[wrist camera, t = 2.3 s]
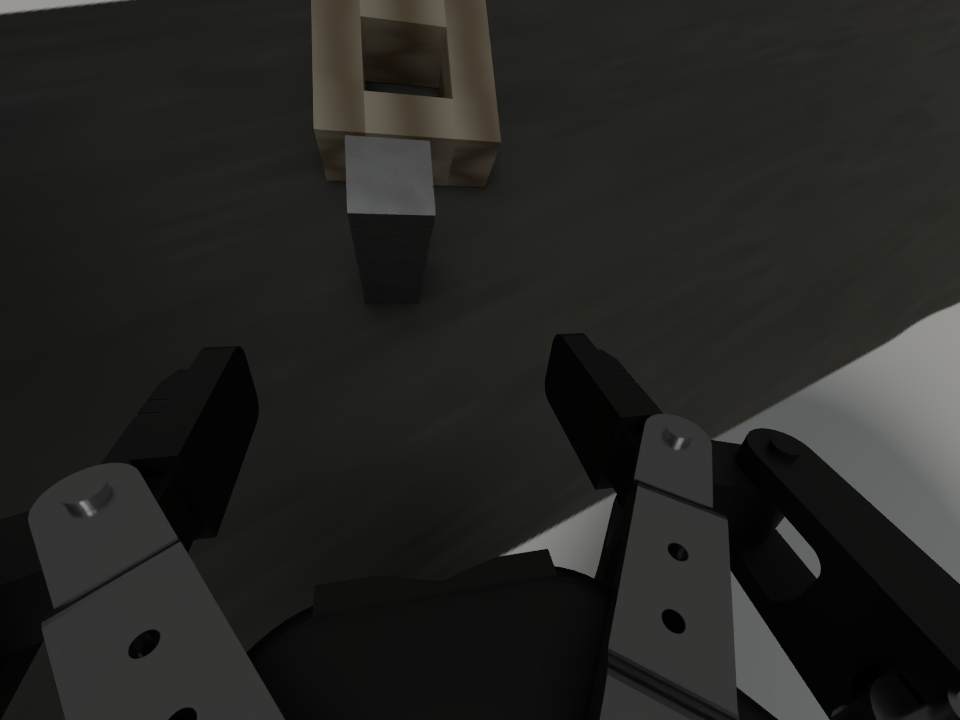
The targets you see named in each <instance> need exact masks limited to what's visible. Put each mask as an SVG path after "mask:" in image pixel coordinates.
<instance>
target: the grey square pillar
mask: <svg viewBox="0 0 960 720" xmlns="http://www.w3.org/2000/svg"><path fill="white" fill-rule="evenodd" d="M345 158H346V188H347V214H348V219H349V224H350V229H351V234H352V239H353V244H354V249H355V254H356V259H357V264H358V269H359V274H360V279H361V284H362V289H363V294H364V299H365V304H400V303H419V301H420V296H421V290H422V285H423V280H424V274H425V269H426V264H427V258H428V253H429V248H430V242H431V237H432V232H433V226H434V221H435V216H436V215H435V202H434V189H433V175H432V162H431V149H430V141H424V140H409V139H394V138H379V137H365V136H350V135H345Z"/></svg>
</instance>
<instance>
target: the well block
mask: <svg viewBox="0 0 960 720" xmlns="http://www.w3.org/2000/svg"><path fill="white" fill-rule="evenodd" d="M311 10H312V63H313V116H314V132H315V136H316V140H317V144H318V148H319V152H320V156H321V160H322V164H323V168H324V172H325V176H326V179H327V180H329V181H346V158H345V135H350V136H365V137H379V138H394V139H409V140H424V141H430V149H431V162H432V175H433V185H441V186H464V187H485V185H486V183H487V180H488V177H489V174H490V172H491V169H492V166H493V163H494V160H495V158H496V155H497V152H498V149H499V147H500V144H501V137H500V128H499V119H498V110H497V101H496V92H495V83H494V74H493V65H492V56H491V47H490V38H489V29H488V20H487V11H486V2H485V0H311ZM365 81H371V82H381V83H392V84H402V85H412V86H423V87H433V88H439V98H438V97H427V96H416V95H405V94H394V93H383V92H372V91H366V85H365Z"/></svg>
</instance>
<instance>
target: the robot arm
mask: <svg viewBox="0 0 960 720" xmlns="http://www.w3.org/2000/svg"><path fill="white" fill-rule="evenodd" d="M545 392H546V397H547V399H548V402H549V404H550V405H551V407H552V409H553V411H554V413H555V415H556V417H557V418H558V420H559V422H560V424H561V426H562V428H563V430H564V432H565V433H566V435H567V437H568V439H569V441H570V443H571V445H572V446H573V448H574V450H575V452H576V454H577V456H578V458H579V460H580V461H581V463H582V465H583V467H584V469H585V471H586V473H587V475H588V476H589V478H590V480H591V482H592V484H593V486H594V488H595V489H596V490H598V489H605V488H614V490H615V492H616V493H617V495H616V497H615V500H614V503H613V507H612V511H611V515H610V519H609V523H608V528H607V532H606V536H605V540H604V545H603V549H602V553H601V557H600V561H599V565H598V568H597V572H596V575H595V578H592V577H590V576H588V575H585V574H582V573H580V572H577V571H574V570H570V569H566V568H562V567H555V566H554V564H553V562H552V559H551V556H550V553H549V551H548V549H544V550H538V551H531V552H525V553H519V554H513V555H506V556H500V557H495V558H493V559H491V560H488V561H486V562H484V563H482V564H479V565H477V566H475V567H473V568H470V569H468V570H466V571H464V572H462V573H459V574H457V575H455V576H453V577H450V578H448V579H446V580H443V581H427V580H417V579H406V578H396V577H386V576H373V577H367V578H361V579H354V580H348V581H342V582H335V583H329V584H323V585H317V586H316V588H315V596H314V604H313V606H312V607H310V608H308V609H305V610H303V611H301V612H300V613H298V614H296V615H294V616H292V617H291V618H289V619H287V620H286V621H284V622H283V623H281V624H280V625H279V626H277V627H276V628H274V629H273V630H271V631H270V632H269V633H268V634H267V635H265V636H264V637H263V638H262V639H261V640H260V641H258V642H257V643H256V644H255V645H254V646H253V647H252V648H251V649H250V650H249V651H248V652H247V653H246V652H245V651H244V649H243V647H242V645H241V644H240V642H239V640H238V639H237V637H236V635H235V633H234V632H233V630H232V628H231V627H230V625H229V623H228V621H227V620H226V618H225V616H224V615H223V613H222V611H221V610H220V608H219V606H218V604H217V603H216V601H215V599H214V598H213V596H212V594H211V592H210V591H209V589H208V587H207V586H206V584H205V582H204V580H203V579H202V577H201V575H200V574H199V572H198V570H197V569H196V567H195V565H194V563H193V562H192V560H191V558H190V557H189V555H188V552H189V550H190V547H191V545H192V542H193V540H197V539H205V538H213V537H216V536H217V534H218V531H219V528H220V525H221V522H222V519H223V517H224V514H225V511H226V508H227V505H228V503H229V500H230V497H231V494H232V491H233V488H234V486H235V483H236V480H237V477H238V474H239V471H240V469H241V466H242V463H243V460H244V457H245V454H246V452H247V449H248V446H249V443H250V440H251V438H252V435H253V432H254V429H255V426H256V423H257V420H258V412H259V405H258V398H257V394H256V390H255V387H254V383H253V380H252V377H251V373H250V370H249V366H248V363H247V359H246V356H245V353H244V351H243V349H242V348H241V347H240V346H233V347H208V348H203V349H202V350H201V351H200V352H199V354H198V355H197V357H196V358H195V360H194V361H193V363H192V364H191V366H190V368H189V369H184V370H178V371H176V372H175V373H174V374H172V375H171V376H169V377H168V378H166V379H165V380H164V381H162V382H161V383H159V384H158V386H157V387H156V388H155V390H154V391H153V393H152V394H151V395H150V397H149V398H148V399H147V401H148V402H147V403H145V404H144V405H143V406H142V408H141V409H140V410H139V412H138V417H134V419H133V420H132V422H131V423H130V424H129V426H128V427H127V428H126V430H125V431H124V433H123V434H122V435H121V437H120V438H119V440H118V441H117V442H116V444H115V445H114V446H113V448H112V449H111V451H110V452H109V453H108V455H107V456H106V457H105V459H104V460H103V462H102V463H101V464H100V465H97V466H93V467H90V468H86V469H84V470H81V471H78V472H76V473H74V474H72V475H70V476H68V477H66V478H64V479H62V480H61V481H59V482H58V483H56V484H55V485H53V486H52V487H50V488H49V489H48V490H47V491H45V492H44V493H43V494H42V495H41V496H40V497H39V498H38V499H37V500H36V502H35V503H34V504H33V506H32V508H31V510H30V511H28V512H24V513H21V514H18V515H14V516H11V517H8V518H4V519H1V520H0V720H1V718H2V717H3V715H4V713H5V711H6V709H7V707H8V705H9V704H10V702H11V700H12V698H13V696H14V694H15V692H16V691H17V689H18V687H19V685H20V683H21V681H22V679H23V678H24V676H25V674H26V672H27V670H28V668H29V666H30V665H31V663H32V661H33V659H34V657H35V655H36V653H37V651H38V650H39V648H40V646H41V644H42V642H43V641H45V644H46V647H47V651H48V655H49V659H50V663H51V666H52V670H53V674H54V678H55V682H56V685H57V689H58V693H59V697H60V700H61V704H62V708H63V712H64V716H65V719H66V720H778V719H777V718H775V717H774V716H773V715H772V714H770V713H769V712H768V711H766V710H765V709H764V708H763V707H761V706H760V705H759V704H758V703H756V702H755V701H754V700H753V699H751V698H750V697H749V696H747V695H746V694H745V693H744V692H742V691H741V690H740V689H738V688H737V687H736V670H735V653H734V652H735V651H734V631H733V613H732V593H731V575H730V570H731V571H732V573H733V575H734V576H735V578H736V579H737V580H738V582H739V584H740V585H741V586H742V588H743V590H744V591H745V592H746V594H747V596H748V597H749V599H750V600H751V602H752V603H753V605H754V606H755V608H756V609H757V611H758V612H759V614H760V615H761V617H762V618H763V620H764V621H765V623H766V624H767V626H768V627H769V629H770V630H771V632H772V633H773V635H774V636H775V638H776V639H777V641H778V642H779V644H780V645H781V647H782V648H783V650H784V651H785V653H786V654H787V656H788V657H789V659H790V660H791V662H792V663H793V665H794V666H795V668H796V669H797V671H798V673H799V674H800V675H801V677H802V678H803V680H804V682H805V683H806V685H807V686H808V688H809V689H810V690H811V692H812V693H813V695H814V697H815V698H816V700H817V701H818V703H819V704H820V705H821V707H822V709H823V710H824V712H825V713H826V715H827V716H828V718H829V719H830V720H960V584H959V583H958V582H957V581H956V580H954V579H953V578H952V577H951V576H950V575H949V574H948V573H947V572H946V571H944V570H943V569H942V568H941V567H940V566H939V565H938V564H937V563H936V562H935V561H933V560H932V559H931V558H930V557H929V556H928V555H927V554H926V553H925V552H924V551H922V550H921V549H920V548H919V547H918V546H917V545H916V544H915V543H914V542H912V541H911V540H910V539H909V538H908V537H907V536H906V535H905V534H904V533H902V532H901V531H900V530H899V529H898V528H897V527H896V526H895V525H894V524H893V523H892V522H890V521H889V520H888V519H887V518H886V517H885V516H884V515H883V514H882V513H881V512H879V511H878V510H877V509H876V508H875V507H874V506H873V505H872V504H871V503H870V502H868V501H867V500H866V499H865V498H864V497H863V496H862V495H861V494H860V493H858V492H857V491H856V490H855V489H854V488H853V487H852V486H851V485H850V484H848V483H847V482H846V481H845V480H844V479H843V478H842V477H841V476H839V474H838V473H836V472H835V471H834V470H833V469H832V468H831V467H830V466H829V465H828V464H827V463H825V462H824V461H823V460H822V459H821V458H820V457H819V456H818V455H816V454H815V453H814V452H813V451H812V450H811V449H810V448H809V447H807V446H806V445H805V444H803V443H802V442H800V441H799V440H797V439H795V438H794V437H792V436H790V435H787V434H785V433H782V432H779V431H776V430H771V429H765V428H760V429H754V430H752V431H750V432H749V433H748V435H747V436H746V438H745V440H744V441H743V443H742V445H740V444H734V443H727V442H721V441H714V440H710V438H709V437H708V435H707V434H706V433H705V432H704V431H703V430H702V429H701V428H700V427H699V426H697V425H696V424H694V423H693V422H691V421H689V420H687V419H685V418H682V417H679V416H675V415H671V414H663V412H662V411H661V410H660V409H659V408H658V407H657V405H656V404H655V403H654V402H653V401H652V400H651V399H650V397H649V396H648V395H647V394H646V393H645V392H644V390H643V389H642V388H641V387H640V386H639V385H638V383H635V380H634V379H633V378H632V376H631V375H630V374H629V373H627V372H626V370H625V368H624V367H623V366H622V365H621V364H620V363H619V361H618V360H617V359H616V358H614V357H612V356H611V355H609V354H608V353H606V352H604V351H603V350H597V348H596V347H595V346H594V345H593V343H592V342H591V341H590V340H589V339H588V337H587V336H586V335H585V334H583V333H575V334H557V335H556V336H555V337H554V340H553V343H552V348H551V353H550V358H549V363H548V368H547V373H546V378H545ZM784 517H786V518H787V519H788V521H789V522H790V523H791V524H792V525H793V526H794V527H795V529H796V530H797V531H798V532H799V533H800V534H801V535H802V537H804V539H805V540H806V541H807V542H808V544H809V545H810V546H811V547H812V548H813V549H814V551H815V552H816V554H817V556H818V558H819V561H820V565H821V573H820V576H819V577H818V578H817V579H816V577H815V576H814V575H813V574H812V572H811V571H810V570H809V569H808V568H807V566H806V565H805V564H804V563H803V562H802V560H801V559H800V558H799V557H798V556H797V554H796V553H795V552H794V551H793V549H792V548H791V547H790V546H789V545H788V543H787V542H786V541H785V540H784V539H783V538H782V536H781V535H780V534H779V533H778V531H777V530H776V529H775V528H776V527H777V526H778V524H779V523H780V522H781V521H782V519H783V518H784Z"/></svg>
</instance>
